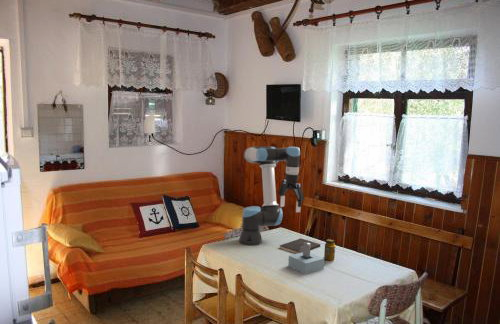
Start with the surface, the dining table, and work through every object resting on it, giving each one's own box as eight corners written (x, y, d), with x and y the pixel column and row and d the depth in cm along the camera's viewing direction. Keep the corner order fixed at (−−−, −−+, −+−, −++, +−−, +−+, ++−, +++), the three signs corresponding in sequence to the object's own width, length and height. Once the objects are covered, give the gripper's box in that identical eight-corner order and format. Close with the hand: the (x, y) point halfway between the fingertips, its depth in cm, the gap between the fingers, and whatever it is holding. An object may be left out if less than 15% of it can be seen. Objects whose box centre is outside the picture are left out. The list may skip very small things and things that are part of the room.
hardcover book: (279, 248, 263) (279, 245, 262) (300, 241, 279) (300, 238, 279) (299, 255, 252) (299, 251, 251) (320, 247, 268) (320, 244, 268)
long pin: (300, 266, 232) (301, 242, 230) (305, 265, 234) (307, 241, 232) (305, 269, 228) (306, 244, 227) (310, 267, 231) (312, 243, 229)
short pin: (298, 256, 248) (298, 247, 247) (303, 255, 250) (303, 246, 249) (302, 258, 245) (303, 249, 244) (307, 257, 247) (308, 247, 246)
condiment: (337, 260, 244) (338, 240, 242) (327, 263, 239) (328, 243, 238) (328, 256, 250) (329, 237, 248) (318, 259, 245) (319, 239, 244)
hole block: (288, 265, 233) (288, 255, 232) (306, 261, 241) (306, 251, 240) (305, 274, 221) (306, 263, 221) (323, 268, 230) (324, 258, 229)
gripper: (273, 170, 245) (271, 205, 248) (302, 177, 225) (300, 215, 228) (282, 169, 249) (280, 203, 252) (312, 176, 229) (309, 213, 233)
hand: (290, 209), depth 240 cm, fingers open, 13 cm apart
